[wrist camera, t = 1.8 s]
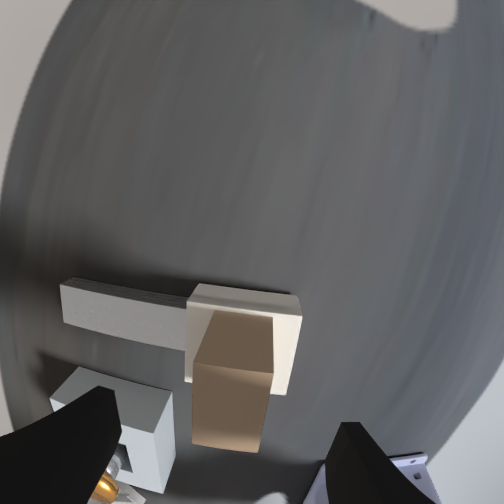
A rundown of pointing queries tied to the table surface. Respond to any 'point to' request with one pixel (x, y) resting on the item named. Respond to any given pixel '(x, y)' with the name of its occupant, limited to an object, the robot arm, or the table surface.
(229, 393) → the carriage
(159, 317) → the rail
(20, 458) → the robot arm
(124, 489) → the security camera
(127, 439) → the grey square-hole block
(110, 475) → the gold round knob
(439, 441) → the table surface
